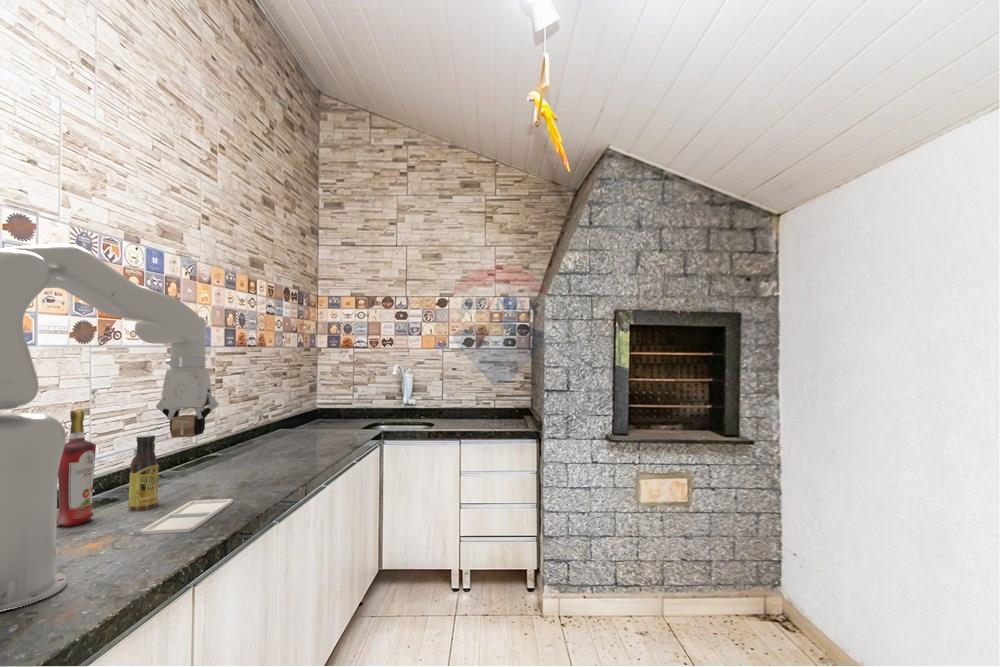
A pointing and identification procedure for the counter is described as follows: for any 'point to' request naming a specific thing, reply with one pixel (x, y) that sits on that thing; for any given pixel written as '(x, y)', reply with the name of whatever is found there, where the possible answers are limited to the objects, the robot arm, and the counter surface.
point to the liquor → (76, 475)
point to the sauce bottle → (143, 476)
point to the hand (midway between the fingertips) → (187, 433)
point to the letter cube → (183, 426)
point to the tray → (187, 517)
